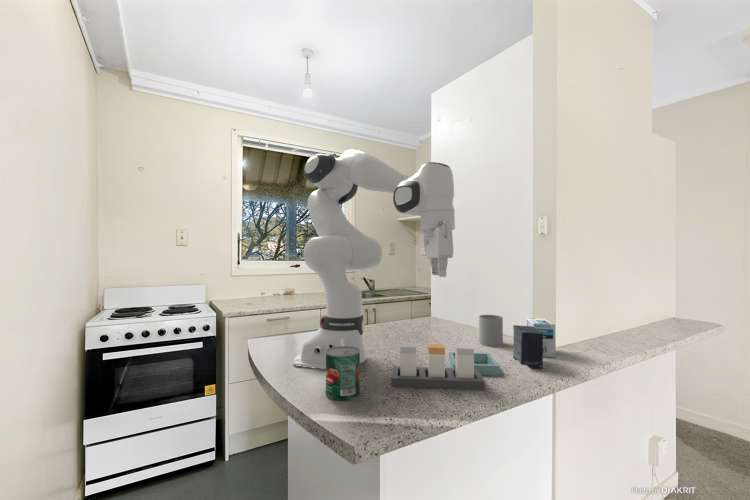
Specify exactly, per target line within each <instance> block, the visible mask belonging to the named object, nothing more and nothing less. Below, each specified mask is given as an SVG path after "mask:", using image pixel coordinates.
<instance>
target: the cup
mask: <svg viewBox="0 0 750 500" xmlns="http://www.w3.org/2000/svg"><path fill="white" fill-rule="evenodd" d="M503 319H504V318H503V316H501V315H494V314H481V315H479V316H478V344H480V345H481V346H484V347H491V348H496V347H498V348H499V346H500V347H503V346H504V331H503V330H504V321H503ZM502 345H503V346H502Z"/></svg>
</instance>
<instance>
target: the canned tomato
mask: <svg viewBox="0 0 750 500" xmlns="http://www.w3.org/2000/svg"><path fill="white" fill-rule="evenodd" d="M360 364H361V363H360V350H359V349H358V348H356V347H350V346H339V347H333V348H329V349H327V350H326V370H325V396H326V398H327V399H328V400H330V401H336V402H348V401H351V400H355V399H356V398H358V397H359V396H360V393H361V392H360V388H361V385H360V384H361V381H360V379H361V378H360V377H361V375H360V373H361V371H360V370H361V369H360Z"/></svg>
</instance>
